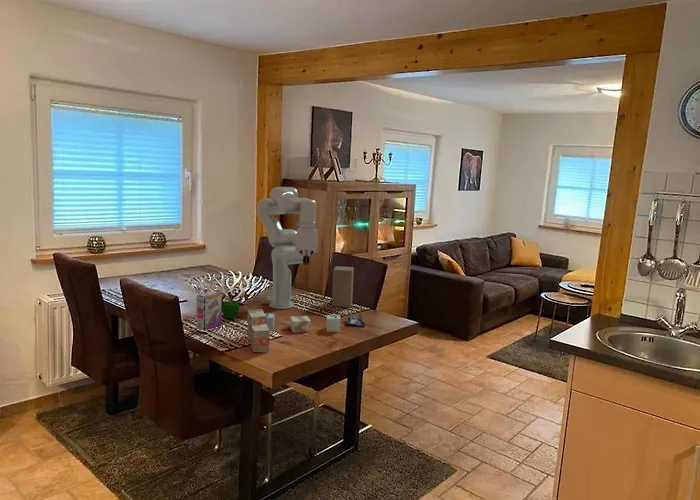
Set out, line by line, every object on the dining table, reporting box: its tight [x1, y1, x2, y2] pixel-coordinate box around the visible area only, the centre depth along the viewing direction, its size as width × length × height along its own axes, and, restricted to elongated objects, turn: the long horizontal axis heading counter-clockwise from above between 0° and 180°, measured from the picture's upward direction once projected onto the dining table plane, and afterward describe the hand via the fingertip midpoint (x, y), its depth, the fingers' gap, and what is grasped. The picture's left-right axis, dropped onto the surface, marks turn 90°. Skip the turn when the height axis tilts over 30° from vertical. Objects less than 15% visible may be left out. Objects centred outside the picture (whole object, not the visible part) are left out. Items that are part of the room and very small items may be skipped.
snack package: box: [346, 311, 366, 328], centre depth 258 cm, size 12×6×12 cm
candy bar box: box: [195, 290, 223, 331], centre depth 238 cm, size 11×5×16 cm, turn 152°
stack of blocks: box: [247, 308, 270, 353], centre depth 222 cm, size 21×6×12 cm, turn 17°
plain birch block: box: [289, 315, 312, 333], centre depth 245 cm, size 8×8×5 cm
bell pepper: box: [221, 297, 240, 320], centre depth 257 cm, size 8×8×10 cm
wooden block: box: [331, 265, 355, 308], centre depth 289 cm, size 10×10×20 cm
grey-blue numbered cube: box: [264, 313, 275, 331], centre depth 244 cm, size 6×6×6 cm
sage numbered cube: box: [325, 314, 341, 333], centre depth 247 cm, size 6×6×6 cm
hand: (306, 264), depth 256 cm, fingers closed
